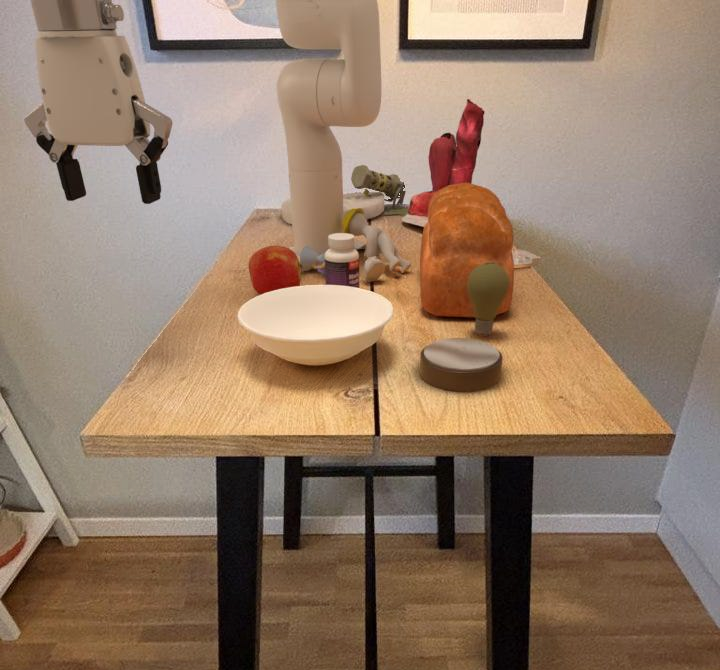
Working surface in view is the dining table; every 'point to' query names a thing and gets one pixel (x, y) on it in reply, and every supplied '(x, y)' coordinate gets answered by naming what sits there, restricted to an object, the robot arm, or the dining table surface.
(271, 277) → the apple
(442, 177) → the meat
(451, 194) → the bread
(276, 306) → the bowl
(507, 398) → the dining table surface
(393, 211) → the map
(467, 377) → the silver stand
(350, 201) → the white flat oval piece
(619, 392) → the dining table surface
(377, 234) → the figurine
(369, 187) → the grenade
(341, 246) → the pill bottle
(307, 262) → the fairy figurine
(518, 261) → the stamped metal plate
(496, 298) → the light bulb
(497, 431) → the dining table surface
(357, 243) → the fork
